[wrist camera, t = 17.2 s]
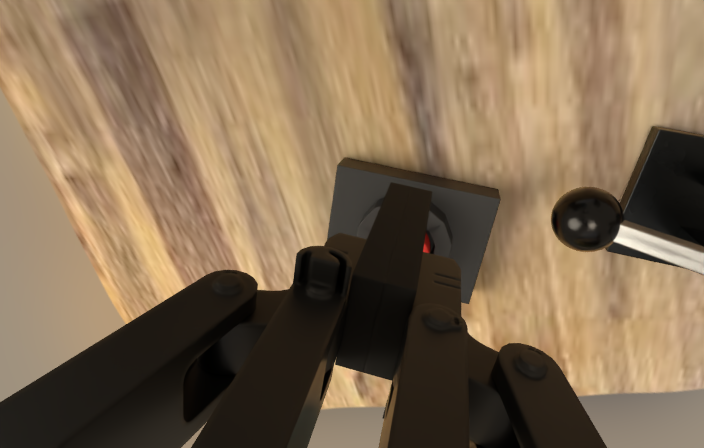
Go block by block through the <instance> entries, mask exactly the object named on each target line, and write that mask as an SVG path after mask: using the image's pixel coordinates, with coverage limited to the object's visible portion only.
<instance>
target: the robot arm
mask: <svg viewBox="0 0 704 448" xmlns="http://www.w3.org/2000/svg"><path fill="white" fill-rule="evenodd" d="M431 198H432V191H428V190H424V189H420V188H415V187H411V186H406V185H402V184H397V183H393V182H391V183H390V185H389V188H388V190H387V193H386V195H385V197H384V200H383V202H382V205H381V207H380V209H379V212H378V214H377V217H376V219H375V221H374V224H373V226H372V229H371V231H370V233H369V236H368V238H367V239H364V238H360V237H356V236H352V235H347V234H343V233H338V234H336V235H334V236H332V237H330V238H329V239H328V240H327V242H326V244H325V245H324V246H310V247H307V248H304V249H302V250H300V251H299V252H298V253H297V256H296V264H295V272H294V280H293V284H292V286H291V287H290V289H288V290H282V291H265V290H257V286H258V284H257V282H256V281H255V279H254V278H253V277H252V276H250V275H248V274H247V273H244V272H240V271H237V270H221V271H215V272H213V273H210V274H208V275H206V276H204V277H202V278H201V279H199V280H198V281H196V282H194V283H193V284H191V285H189V286H188V287H186V288H185V289H183V290H181V291H180V292H178V293H176V294H175V295H173V296H172V297H170V298H168V299H167V300H165V301H164V302H162V303H160V304H159V305H157V306H155V307H154V308H152V309H151V310H149V311H147V312H146V313H144V314H142V315H141V316H139V317H138V318H136V319H134V320H133V321H131V322H130V323H128V324H126V325H125V326H123V327H121V328H120V329H118V330H117V331H115V332H114V333H112V334H110V335H109V336H107V337H105V338H104V339H102V340H100V341H99V342H97V343H96V344H94V345H93V346H91V347H89V348H88V349H86V350H84V351H83V352H81V353H79V354H78V355H76V356H75V357H73V358H71V359H70V360H68V361H67V362H65V363H63V364H62V365H60V366H58V367H57V368H55V369H54V370H52V371H50V372H49V373H47V374H45V375H44V376H42V377H41V378H39V379H37V380H36V381H34V382H32V383H31V384H29V385H28V386H26V387H25V388H23V389H21V390H19V391H18V392H16V393H15V394H13V395H12V396H10V397H8V398H6V399H5V400H3V401H2V402H0V448H181V447H182V446H183V445H184V444H185V443H186V442H187V441H188V440H189V439H190V438H191V437H192V436H193V435H194V434H195V433H196V432H197V431H198V430H199V429H200V428H201V427H202V426H203V425H204V424H205V423H206V422H207V423H206V425H205V426H204V428H203V430H202V431H201V433H200V434H199V436H198V437H197V439H196V441H195V442H194V444H193V445H192V447H191V448H307V446H308V444H309V441H310V438H311V435H312V432H313V429H314V426H315V423H316V421H317V418H318V415H319V412H320V409H321V407H322V404H323V401H324V398H325V395H326V392H327V390H328V387H329V384H330V381H331V377H332V371H333V366H334V362H335V360H336V363H335V365H339V366H342V367H346V368H349V369H353V370H356V371H360V372H364V373H367V374H371V375H374V376H378V377H381V378H385V379H388V380H392V385H391V388H390V392H389V396H388V400H387V403H386V407H385V411H384V415H383V418H384V422H383V427H382V432H381V438H380V443H379V448H607V447H606V445H605V443H604V442H603V440H602V438H601V437H600V435H599V433H598V431H597V430H596V428H595V426H594V425H593V423H592V421H591V420H590V418H589V416H588V415H587V413H586V411H585V409H584V408H583V406H582V404H581V403H580V401H579V399H578V397H577V396H576V394H575V392H574V391H573V389H572V387H571V386H570V384H569V382H568V381H567V379H566V377H565V375H564V374H563V372H562V370H561V369H560V367H559V366H558V365H557V364H556V362H555V361H554V360H553V359H552V358H551V357H549V356H548V355H547V354H545V353H544V352H543V351H541V350H539V349H536V348H534V347H532V346H529V345H525V344H521V343H509V344H507V345H505V346H503V347H502V348H501V350H500V351H499V352H497V351H495V350H493V349H491V348H489V347H487V346H485V345H483V344H481V343H480V342H478V341H477V340H475V339H474V338H473V337H472V336H470V335H469V333H468V331H467V325H466V322H465V320H464V319H463V318H462V317H461V269H460V267H459V266H458V264H457V263H456V261H455V260H454V259H451V258H447V257H443V256H439V255H435V254H430V253H426V252H423V249H424V242H425V236H426V230H427V223H428V217H429V210H430V204H431ZM336 357H337V358H336Z"/></svg>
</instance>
